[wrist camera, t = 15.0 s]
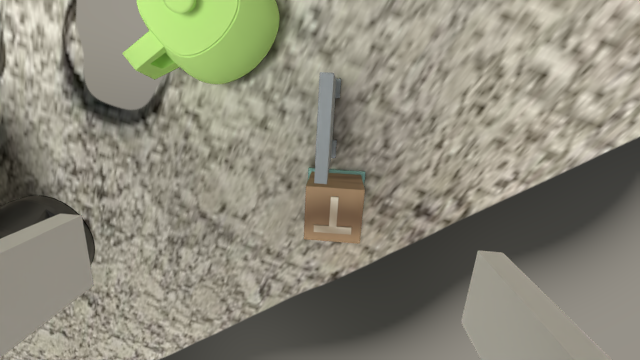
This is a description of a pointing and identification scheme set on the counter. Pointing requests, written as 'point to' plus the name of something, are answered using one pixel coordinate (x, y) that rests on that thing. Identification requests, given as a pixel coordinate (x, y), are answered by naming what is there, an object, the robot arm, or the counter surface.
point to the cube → (334, 208)
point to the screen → (325, 125)
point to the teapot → (204, 37)
